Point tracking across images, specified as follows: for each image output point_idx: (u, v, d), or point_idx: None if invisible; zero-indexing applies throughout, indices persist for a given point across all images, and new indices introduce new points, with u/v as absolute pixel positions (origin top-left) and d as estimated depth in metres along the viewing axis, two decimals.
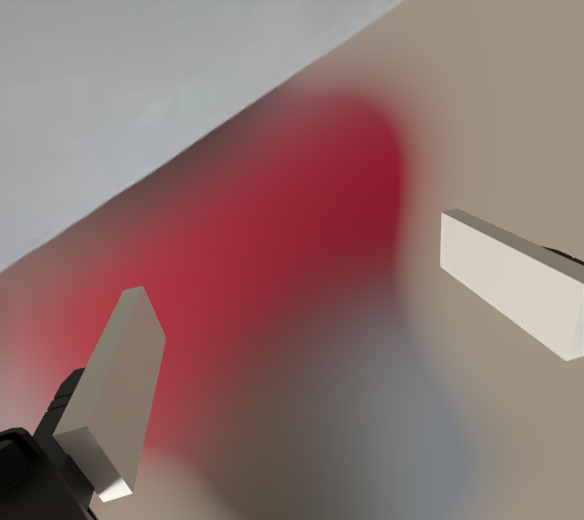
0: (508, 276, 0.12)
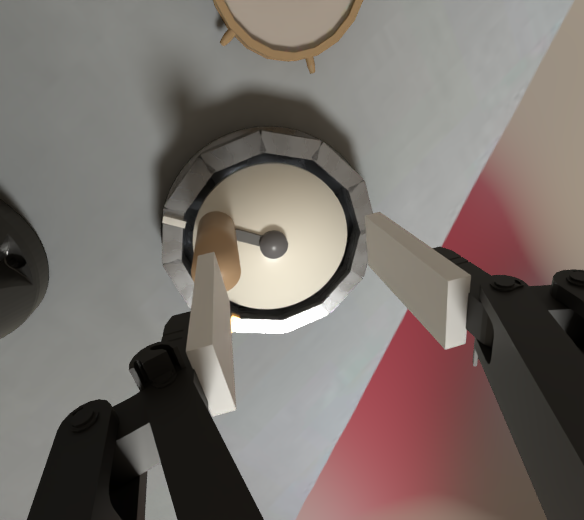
0: (406, 274, 0.13)
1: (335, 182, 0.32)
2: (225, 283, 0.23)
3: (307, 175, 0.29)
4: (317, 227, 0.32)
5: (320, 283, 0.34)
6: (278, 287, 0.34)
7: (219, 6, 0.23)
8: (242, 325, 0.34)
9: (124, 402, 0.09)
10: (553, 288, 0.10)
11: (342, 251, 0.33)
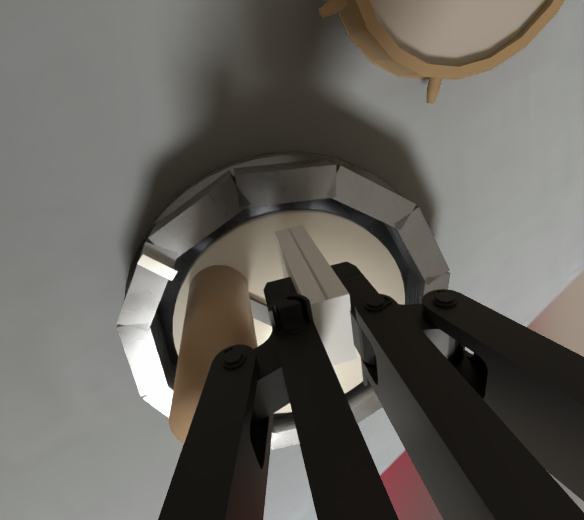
0: None
1: (402, 261, 0.22)
2: None
3: (374, 243, 0.20)
4: None
5: None
6: None
7: None
8: None
9: (255, 349, 0.10)
10: (424, 312, 0.10)
11: None
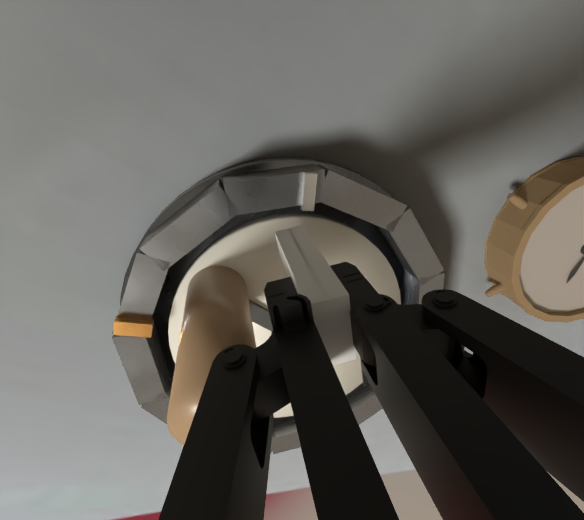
0: None
1: None
2: None
3: (373, 251, 0.20)
4: None
5: None
6: None
7: (561, 191, 0.20)
8: (131, 342, 0.18)
9: (255, 349, 0.10)
10: (424, 312, 0.10)
11: None
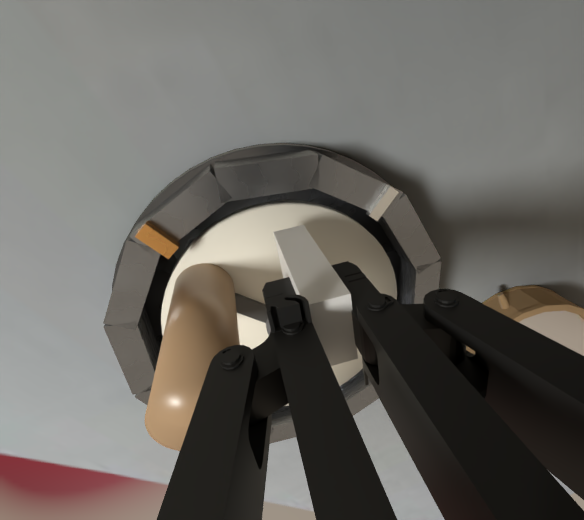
0: None
1: None
2: None
3: (359, 231, 0.19)
4: None
5: (340, 380, 0.24)
6: None
7: (539, 308, 0.24)
8: (142, 255, 0.16)
9: (253, 350, 0.10)
10: (426, 311, 0.10)
11: None
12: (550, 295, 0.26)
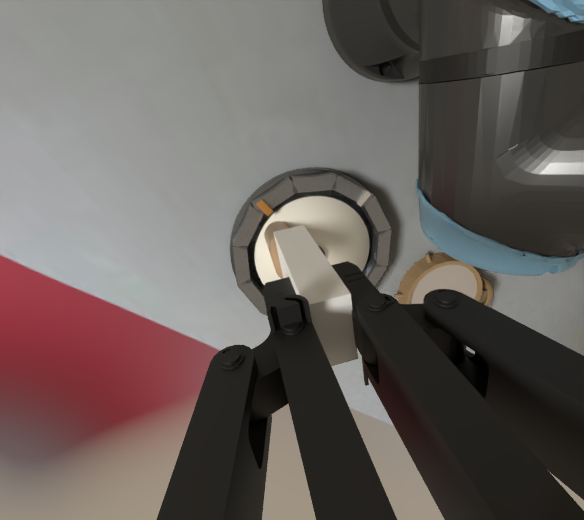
0: None
1: None
2: None
3: (352, 211, 0.40)
4: (348, 250, 0.42)
5: None
6: None
7: (445, 262, 0.45)
8: (256, 214, 0.37)
9: (253, 350, 0.10)
10: (426, 311, 0.10)
11: None
12: None
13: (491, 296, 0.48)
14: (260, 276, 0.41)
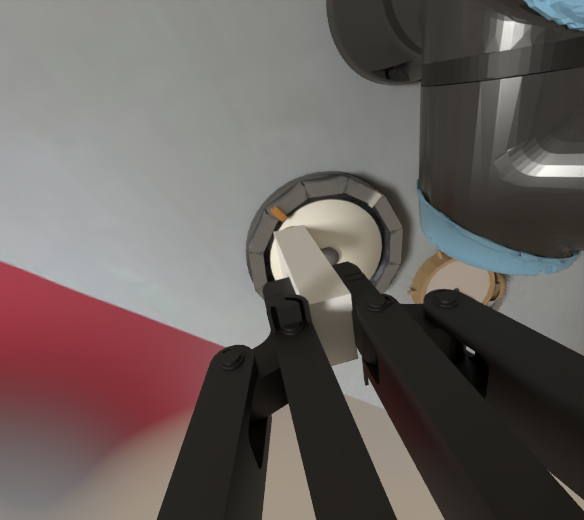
0: None
1: None
2: None
3: (364, 213, 0.41)
4: (361, 250, 0.43)
5: None
6: None
7: None
8: (270, 220, 0.38)
9: (253, 350, 0.10)
10: (425, 311, 0.10)
11: (373, 271, 0.45)
12: None
13: (504, 289, 0.48)
14: None
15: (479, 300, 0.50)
